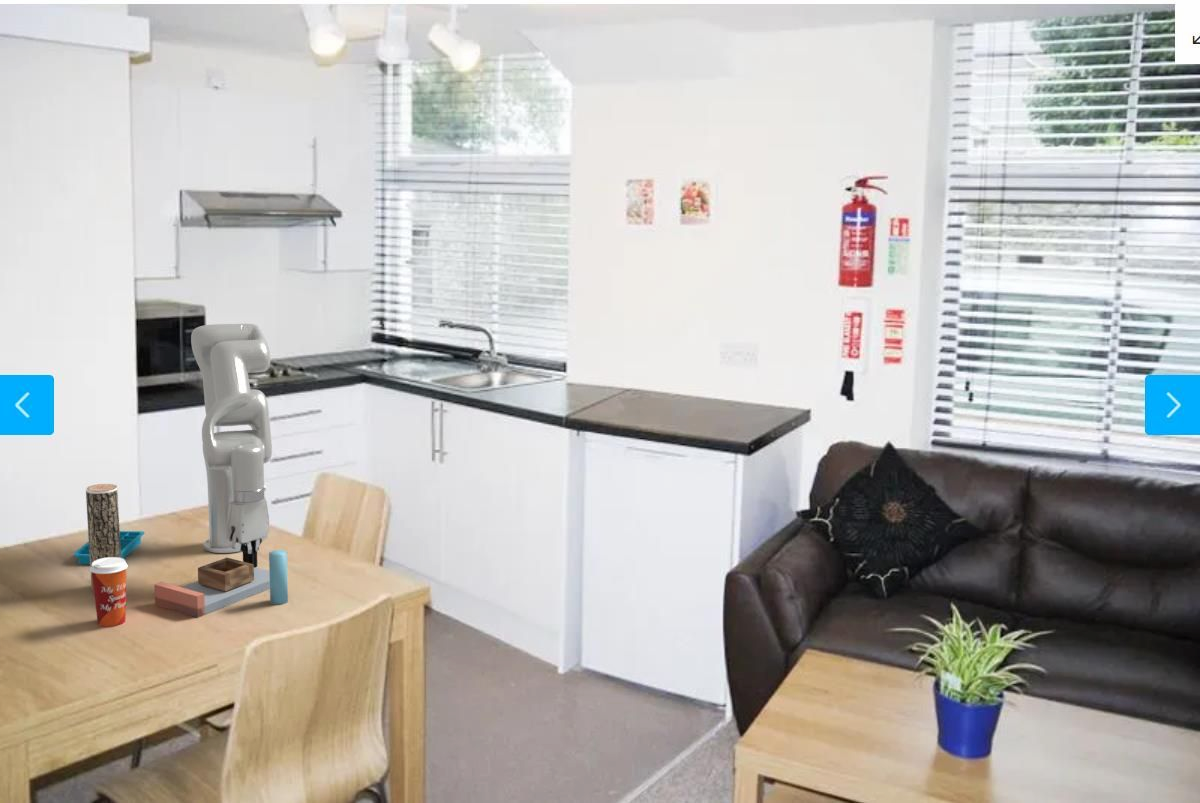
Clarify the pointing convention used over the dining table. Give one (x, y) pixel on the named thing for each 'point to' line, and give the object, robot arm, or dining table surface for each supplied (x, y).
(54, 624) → the dining table surface
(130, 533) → the ice cube tray
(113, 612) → the paper cup
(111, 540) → the bark log
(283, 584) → the dowel
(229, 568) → the square wooden tray
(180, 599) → the long flat grey board
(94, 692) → the dining table surface
